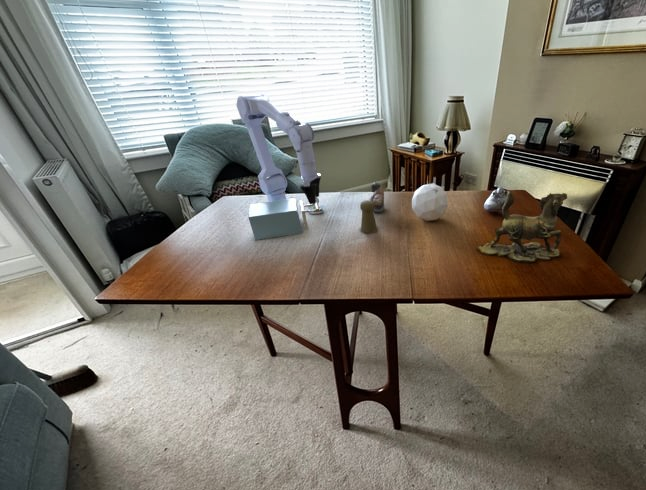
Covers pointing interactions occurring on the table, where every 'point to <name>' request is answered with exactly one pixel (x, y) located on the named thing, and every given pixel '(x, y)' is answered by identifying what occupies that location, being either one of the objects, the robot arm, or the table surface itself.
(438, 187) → the geodesic sphere
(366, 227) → the cork
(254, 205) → the cabinet
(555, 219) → the figurine
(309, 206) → the pacifier
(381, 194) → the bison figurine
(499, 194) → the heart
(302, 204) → the drawer
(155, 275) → the table surface
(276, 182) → the robot arm
